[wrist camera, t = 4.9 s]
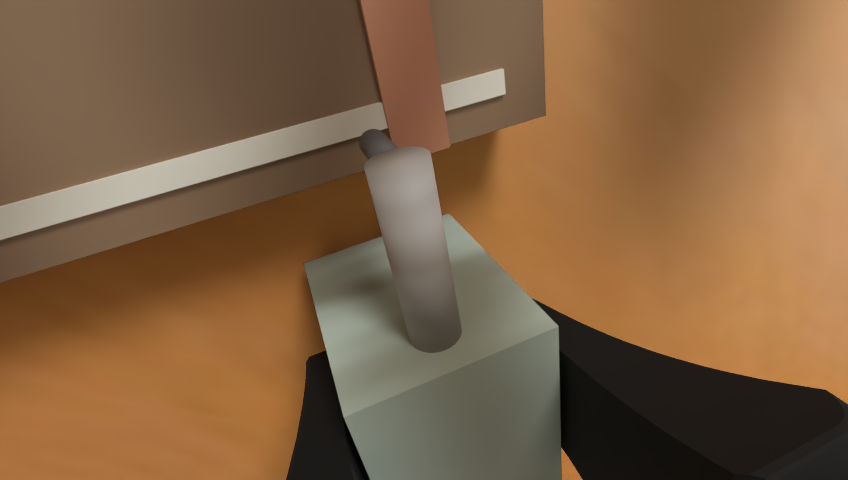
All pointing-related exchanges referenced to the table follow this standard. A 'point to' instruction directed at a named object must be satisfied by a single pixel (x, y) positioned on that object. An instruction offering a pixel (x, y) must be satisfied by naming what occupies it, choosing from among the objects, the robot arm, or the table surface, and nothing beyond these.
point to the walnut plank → (232, 104)
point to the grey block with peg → (435, 341)
